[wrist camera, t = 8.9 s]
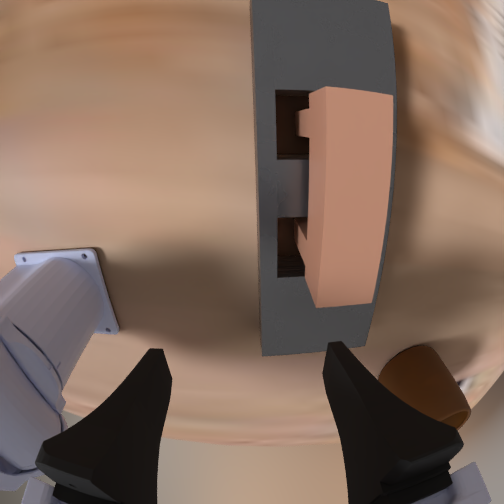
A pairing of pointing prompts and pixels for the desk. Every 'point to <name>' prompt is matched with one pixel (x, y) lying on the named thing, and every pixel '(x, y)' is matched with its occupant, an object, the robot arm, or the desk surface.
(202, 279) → the desk surface
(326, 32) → the grey slotted tapered plate
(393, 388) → the mug
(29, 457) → the robot arm
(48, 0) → the desk surface
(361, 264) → the tan tabbed block
